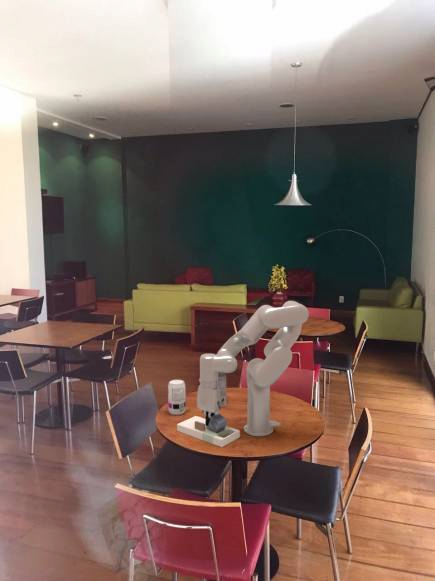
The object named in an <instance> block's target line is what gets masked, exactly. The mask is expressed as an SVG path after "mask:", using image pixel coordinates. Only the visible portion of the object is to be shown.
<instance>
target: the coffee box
mask: <svg viewBox="0 0 435 581" xmlns="http://www.w3.org/2000/svg"><path fill="white" fill-rule="evenodd" d="M218 387H219V390H220V398H221V407H226V406H227V373H222V372H218Z"/></svg>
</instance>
